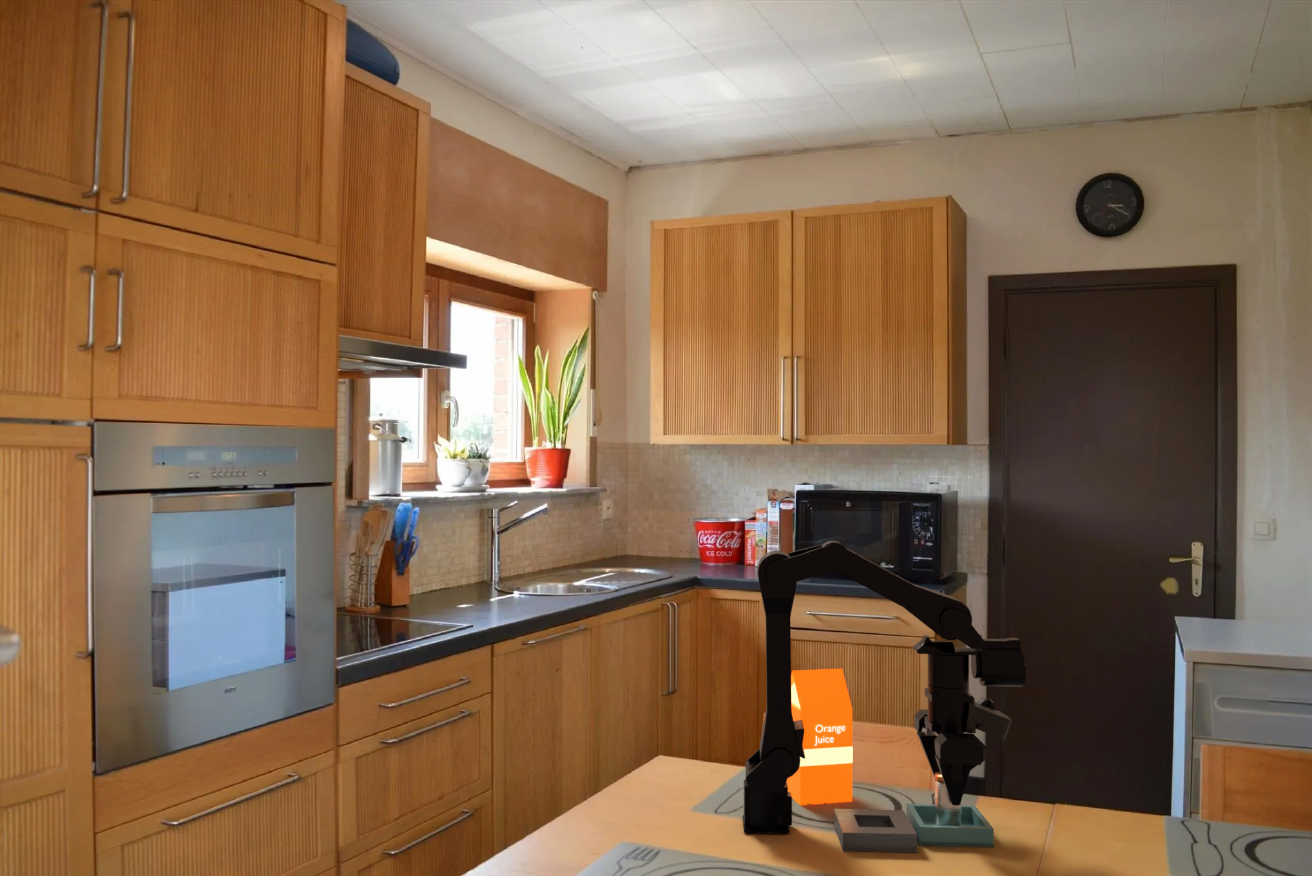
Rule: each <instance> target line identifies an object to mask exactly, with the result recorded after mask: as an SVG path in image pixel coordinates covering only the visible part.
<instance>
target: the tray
mask: <svg viewBox="0 0 1312 876" xmlns="http://www.w3.org/2000/svg"><path fill="white" fill-rule="evenodd" d="M906 816H907V817H908V819H909V821H910V823H911V824H912V826H913V828H914V830H915V831H916V833H917V843H918V844H919V845H920V846H933V847H934V846H935V847H938V846H939V847H968V848H969V847H971V848H972V847H975V848H977V847H978V848H982V847H983V848H994V844H995V843H994V840H995V839H994V834H995V833H994V827H993V826H992V825H991V823H990V822H989V821H988V820H987V818H986V817H985V816H984V815H983V813H982V812H981V811H980V810H979V809H978V807H977V806H976V805H970V804H969V805H968V804H966V805H964V804H961V826H938V825H935V804H932V803H931V804H930V803H929V804H926V803H925V804H924V803H923V804H922V803H921V804H920V803H906Z"/></svg>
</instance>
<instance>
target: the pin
mask: <svg viewBox="0 0 1312 876" xmlns="http://www.w3.org/2000/svg"><path fill="white" fill-rule="evenodd" d="M934 805H935V825H938V826H961V805H962V803H961V804H960V805H952V804H951V801H950V798H949V795H948V792H947V790H946V787H945V784H944V781H943V778H942V775H941V772H936V773H935V777H934Z"/></svg>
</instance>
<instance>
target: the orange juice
mask: <svg viewBox="0 0 1312 876" xmlns="http://www.w3.org/2000/svg"><path fill="white" fill-rule="evenodd" d="M846 682H847V681H846V679H845V676H844V671H843V668H826V669H825V668H824V669H801V670H799V669H798V670H797V669H796V670H791V702H792V716H793V721H796V720H802V721H803V726H804V738H803V748H804V753H805V759H803V758H802V757H800V767H799V769H798V771H797V772H796V773H795V774H794V775H793V776H791V777H789V778H788V779H787V785H788V791H789V792H790V793H791V796H792V798H793V799H794V800H795V801H794V800H793V799H792V800H793V801H794V802H795V803H797V804H798V805H799V804H800V805H799V806H808V805H807V804H813V805H822V804H824V803H826V804H837V803H838V802H839V803H851V802H853V762H854V760H853V759H854V757H853V756H854V755H853V754H854V753H853V706H852V703H851V699H850V694H849V691H848V686H847V683H846Z"/></svg>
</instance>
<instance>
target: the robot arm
mask: <svg viewBox="0 0 1312 876" xmlns="http://www.w3.org/2000/svg"><path fill="white" fill-rule="evenodd" d="M831 571H836V572H837V573H839V574H841V575H843V576H845V577H846V578H848V579H850V580H852V581H853V582H856V583H857V584H859V585H861V586H863V587H865V588H866V589H869V590H871V591H872V592H874V593H875V594H878V595H879V596H882V597H884V598H885V599H887V600H889V601H891V602H893V603H894V604H897V605H898V606H900V607H902V608H904V609H905V611H908V613H910V614H911V615H913V617H915V618H916V619H918V621H920V622H921V623H922V624H924V625H925V626H926V627H927V628H929V629H930V630H932V632H934V633H935V634H936V635H938V636H939V637H940V638H941V639H944V640H945V641H944V640H932V639H931V638H930V637H929V636H928V635H927V634H924V635H923V637H922V638H921V639H920V641H918V642H917V643H916V644H914V645H913V647H912V648H913V649H914V650H915V652H916V653H917V654H919V655H927V687H924V696H925V697H926V698H927V709H919V710H918V711H917V712H916V713H915V714H914V723H913V724H914V729H915V730H916V731H917V732H916V735H917V737H918V739H919V742H920V744H921V747H922V749H923V753H924V754H925V756H926V759H927V762H928V765H929V767H930V770H931V771H932V774H933V777H934V778H935V773H936V772H941V775H942V778H943V781H944V784H945V787H946V790H947V792H948V795H949V798H950V801H951V804H952V805H960V804H961V805H962V799H963V797H964V792H965V790H966V787H967V782H968V779H969V775H970V773H971V771H972V770H973V769H975V768H976V767H977V766H981V765H982V764H983V763H984V762H986V761H987V746H986V745H985V744H984V743H983V742H982V740H980V739H979V737H977V735H975V734H976V732H977V731H976V730H978V731H980V732H983V733H985V734H989V735H991V736H994V737H995V738H996V739H998V740H999V741H1005V739H1006V737H1007V734H1008V732H1009V730H1010V729H1009V728H1010V726H1011V723H1012V719H1011V717H1009V716H1008V715H1007V714H1005V713H1003V712H1002V711H1000V710H997V709H996V708H997V707H996V703H995V702H994V701H993V700H992V699H990V698H986V697H984V696H982V697H981V698H980V699H979V700H978V701H977V702H976V700H975V697H974V696H973V695H972V694H971V693H970V670H971V676H972V679H974V680H975V679H976V680H977V679H978V681H979V684H980V686H981V687H1006V688H1007V687H1011V688H1014V687H1016V688H1022V687H1024V686H1025V683H1026V679H1027V665H1026V664H1025V658H1024V653H1023V650H1022V641H1021V640H1020V639H1019V638H1017V637H1007V638H1005V637H1004V638H983V635H982V634H980V633H979V631H977V630H976V628H975V626H974V625H973V616H972V613H971V610H970V607H968V606H967V605H966V604H965V603H963V601H960V600H958V598H955V597H954V596H952V595H949V594H946V593H943V592H940V591H937V590H934V589H931V588H926V587H924V586H920V585H917V584H914V583H911V582H910V581H909V580H906V579H905V578H902V577H901V576H900V575H897V574H895V573H894V572H891V571H890V570H888V569H886V568H884V567H882V566H880V565H878V564H876V563H875V562H873V561H871V560H869V559H867V558H866V557H864V556H861V555H860V554H858V553H856V552H855V551H852V550H850V549H849V548H847V547H846V546H844V544H843V543H841V542H839V541H836V540H829V541H825V542H824V543H822V544H819V545H816V546H811V547H807V548H803V549H797V550H795V551H791V552H785V551H782V550H771V551H769V552H766V553H765V554H764V555H763V556H761V558H760V559H759V561H758V563H757V578H758V579H757V580H758V584H759V589H760V593H761V600H762V605H763V609H764V614H765V664H766V665H765V666H766V667H765V669H766V670H765V673H766V676H765V677H766V709H765V714H764V719H763V723H762V730H761V736H760V743H759V748H758V749H757V750H755V752H754V753H753V754H752V755H751V756H750V757H748V759H746V761H745V779H743V815H742V818H741V819H742V829H743V833H747V834H784V835H785V834H786V835H787V834H790V827H791V826H792V825H793V799H792V796H791V793H790V792H789V791H788V785H787V779H788V778H789V777H791V776H793V775H794V774H795V773H796V772H797V771H798V769H799V767H800V757H802V758H803V759H805V753H804V748H803V738H804V726H803V721H802V720H796V721H793V716H792V702H791V674H792V646H791V645H792V644H791V643H792V641H791V640H792V638H791V615H792V611H793V606H794V601H795V596H796V590H797V583H798V582H801V581H804V580H807V579H811V578H814V577H816V576H819V575H822V574H824V573H826V572H831ZM946 640H947V641H946ZM956 640H958V641H960V642H961V643H963V644H964V645H966V646H967V647H957V646H955V645H954V642H953V641H956Z"/></svg>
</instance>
